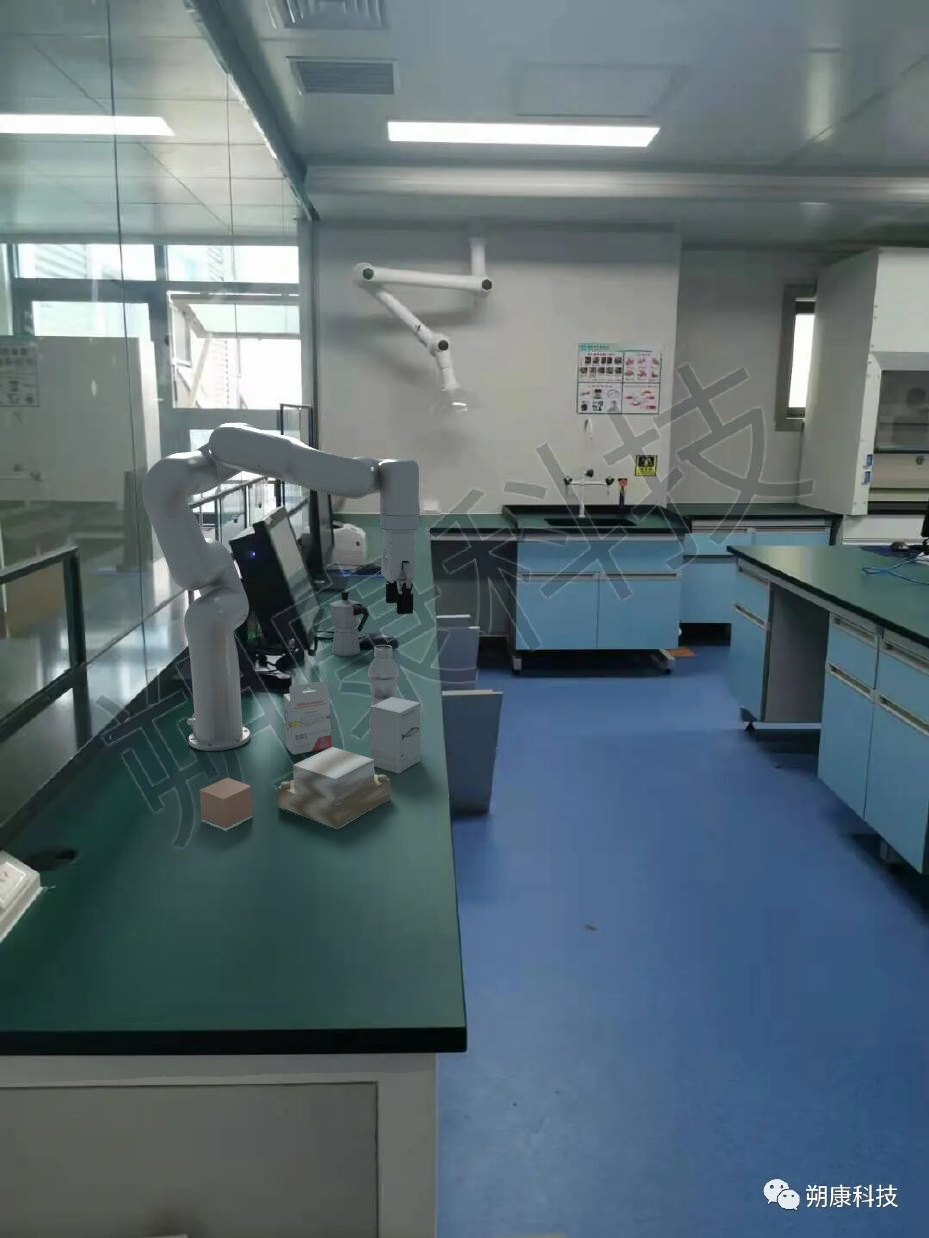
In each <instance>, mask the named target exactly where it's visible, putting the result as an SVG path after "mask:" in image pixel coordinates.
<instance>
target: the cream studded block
mask: <svg viewBox="0 0 929 1238" xmlns="http://www.w3.org/2000/svg"><path fill="white" fill-rule="evenodd" d="M292 768H293V769H292V770H293V773H292V774H293V779H291V780H289V781H282V782H280V786H277V799H278V800H277V805H278V807H280V808H283V809H288V810H290V811H292V812H294V813H297V814H298V815H301V816H305V817H308V818H310V819H312V820H315V821H317V822H322V823H324V824H326V825H330V826H333V827H336V828H339V827H341V826H342V825H344V824H346V823H347V822H350V821H352V820H353V819H355V818H357V817H358V816H361V815H363V814H364V813H366V812H368V811H369V810H370V809H373V808H375V807H377V806H378V807H380V806H382V805H383V804H385V803H387V802H389V801H390V800H391V778H390V777H389V778H388V776H387V775H386V774H379V775H378V774H376V773H375V766H374V759H371V757H368V756H364V755H360V754H358V753H354V752H351V751H347V750H345V749H342V748H341V749H340V748H337V747H335V746H332V747H331V748H327V749H323V750H322V751H320V752H317V753H316V754H314V755H311V756H310V757H307V758H305V759H303V760H301V761H299V762H296V763H295V764H292ZM382 803H383V804H382ZM381 804H382V805H381ZM379 805H380V806H379ZM378 807H377V808H378ZM375 809H376V808H375ZM373 810H374V809H373ZM368 813H369V812H368ZM366 814H367V813H366ZM298 815H297V816H298ZM301 816H300V817H301ZM363 816H364V815H363ZM361 817H362V816H361ZM312 820H311V821H312ZM317 822H316V823H317Z"/></svg>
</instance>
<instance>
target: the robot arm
mask: <svg viewBox="0 0 929 1238" xmlns="http://www.w3.org/2000/svg"><path fill="white" fill-rule="evenodd" d="M419 467H420V466H419V464H418V462H417V461H416V460H413V459H410V458H388V459H387V458H386V459H383V458H376V457H371V456H370V457H369V456H355V457H348V456H343V455H338V454H334V453H329V452H327V451H322V450H319V449H316V448H313V447H311V446H308V445H306V444H305V443H303V442H302V441H301V440H299V439H298V438H295V437H292V436H289V435H282V434H278V433H274V432H269V431H266V430H261V429H258V428H256V426H254V425H252V424H250V423H246V422H228V423H223V424H220V425H218V426H217V427H215V428H214V430H213V431H212V432H211V434H210V435H209V438H208V442H207V443H205V444H203V445H201V446H200V447H199V448H196V449H195V450H193V451H188V452H178V453H177V452H176V453H172V454H169V455H167V456H164V457H162V458H161V459H159V460H158V461H156V462H155V463H154V464H153V465H152V466H151V468H150V469H149V470H148V472H146V475H145V477H144V480H143V482H142V483H143V484H142V489H141V494H142V495H141V497H142V502H143V505H144V510H145V511H146V514H147V516H148V518H149V521H150V523H151V526H152V528H153V530H154V533H155V535H156V537H157V541H158V544H159V546H160V549H161V551H162V554H163V556H164V559H165V562H166V564H167V566H168V570H169V572H170V574H171V577H172V579H173V582H174V583H175V584H176V585H177V586H178V587H179V588H181V589H182V590H184V591H188V592H189V591H190V592H194V591H195V592H196V591H199V595H200V596H199V597H197V598H196V599H194V600H193V601H192V602H191V604H189V606H188V608H187V609H186V611H185V614H184V620H183V626H184V632H185V637H186V641H187V645H188V651H189V659H190V671H191V683H192V684H191V686H192V698H193V699H192V700H193V711H194V713H193V714H192V715H191V717H189V718H187V720H186V723H187V725H189V726H192V729H193V732H192V733H190V735H189V736H188V744H189V746H190V747H191V748H193V749H196V750H199V751H200V750H201V751H205V752H219V751H225V750H226V751H227V750H232V749H235V748H238V747H242V746H243V745H245V744H246V743H248V742H250V741H249V740H251V731H250V729H248V727H245V726H244V725H243V715H242V714H243V713H242V699H241V698H242V697H241V694H242V693H241V682H240V681H241V678H240V677H241V676H240V664H239V655H238V654H239V653H238V648H237V643H236V640H235V635H234V631H235V630H236V629H237V628H239V627H240V626H241V625H243V623H245V621H246V620H247V618H248V615H249V612H250V611H249V609H250V605H249V599H248V596H247V593H246V591H245V588H244V585H243V583H242V580H241V577H240V575H239V573H238V569H237V567H236V564H235V561H234V559H233V557H232V555H231V553H230V551H229V550H228V549H227V547H226V546H225V545H224V544H223V543H222V542H220V541H219V540H217V539H214V538H210V537H205V536H204V534H203V532H202V529H201V526H200V523H199V520H198V518H197V516H196V515H195V513H194V511H193V510H192V508H191V507H190V505H189V503H188V498H190V497H191V496H196V495H199V494H204V493H207V492H210V491H211V490H213V489H215V488H217V487H218V486H220V485H222V484H224V483H225V482H226V481H228V480H230V479H231V478H233V477H235V476H237V475H239V474H240V473H242V472H244V473H250V474H255V475H259V476H262V477H267V478H271V479H275V480H280V481H283V482H286V483H288V484H291V485H295V486H298V487H299V486H300V487H301V488H305V489H309V490H311V491H315V492H319V493H323V494H326V495H331V496H336V497H340V498H344V499H349V500H359V499H362V498H364V497H366V496H369V495H373V494H379V496H380V497H379V499H380V500H379V501H380V503H379V506H380V507H379V510H380V511H379V516H380V517H379V526H380V529H379V530H380V532H383V533H382V539H381V540H382V541H381V542H382V543H381V544H382V545H381V564H380V573H381V575H382V576H383V578H384V579H385V602H386V603H387V604H396V613H397V615H412V614H414V583H413V581H415V578H416V548H415V547H416V546H415V544H416V543H415V533H417V532H419V525H420V524H419V523H420V522H419V518H420V517H419V515H420V514H419V511H420V509H419V508H420V507H419V505H420V504H419V503H420V501H419V500H420V468H419Z"/></svg>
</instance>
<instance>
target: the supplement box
mask: <svg viewBox="0 0 929 1238" xmlns="http://www.w3.org/2000/svg"><path fill="white" fill-rule="evenodd" d="M369 714H370V715H369V716H370V717H369V721H370V728H369V731H370V734H369V735H370V758H371V759H374V768H379V769H381V770H385V771H388V772H392V773H396V774H401V773H403V772H404V771H405V770H407V769H408V768H411V767H413V766H414V765H416V764H417V763H419V762H421V702H420V701H419V702H418V701H414V700H410V699H404V698H401V697H400V698H399V697H397V698H396V697H390V698H388V699H386V700H384V701H382V702H379V703H377V704H375V705H373V706H369Z"/></svg>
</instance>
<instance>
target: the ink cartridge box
mask: <svg viewBox="0 0 929 1238" xmlns="http://www.w3.org/2000/svg"><path fill="white" fill-rule="evenodd" d="M308 688H310V689H312V690H307V689H308ZM305 690H306V691H305ZM288 691H289V693H284V694H283V712H284V729H285V730H284V732H285V747H286V749H287V750H288V751H289V752H290V754H291V755H293V756H294V755H299V754H305V753H309V752H315V751H320V750H322V751H323V750H326V749H328V748H331V747H333V746H332V727H331V726H332V725H331V720H332V719H331V700H330V699H331V698H330V695H329V684H328V681H327V680H323V681H318V682H316V681H315V682H309V683H302V684H294V685H290V686H289V688H288Z"/></svg>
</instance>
